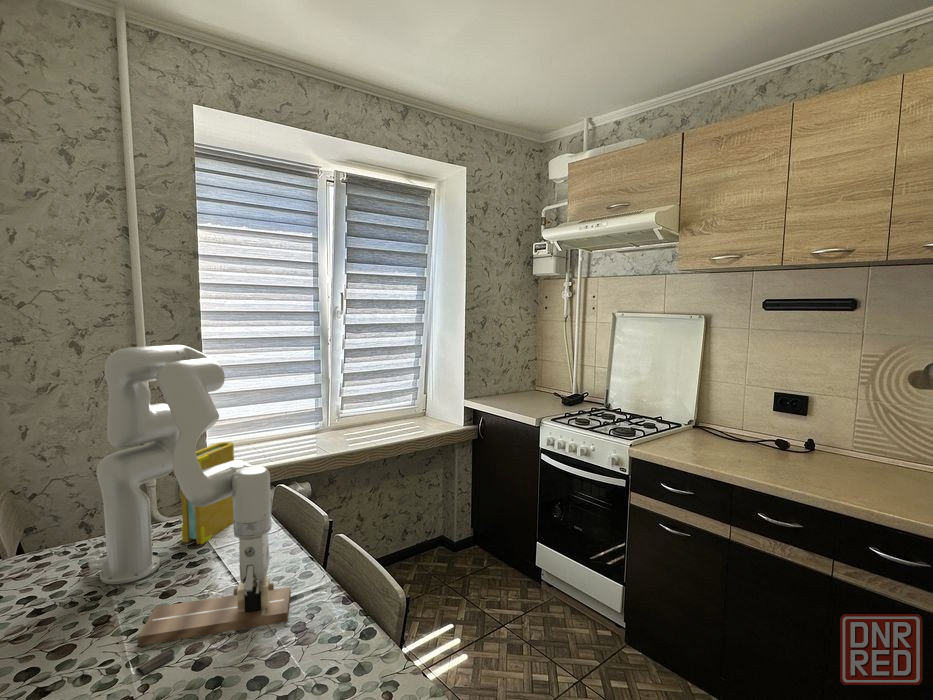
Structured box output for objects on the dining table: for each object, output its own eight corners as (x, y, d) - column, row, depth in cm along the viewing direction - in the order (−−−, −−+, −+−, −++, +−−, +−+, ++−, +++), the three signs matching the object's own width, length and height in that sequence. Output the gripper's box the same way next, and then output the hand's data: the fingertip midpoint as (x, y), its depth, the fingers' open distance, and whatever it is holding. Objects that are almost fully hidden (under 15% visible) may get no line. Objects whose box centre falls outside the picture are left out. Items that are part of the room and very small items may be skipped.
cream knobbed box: (232, 613, 103) (232, 591, 102) (236, 601, 107) (235, 579, 107) (272, 607, 105) (272, 585, 105) (274, 595, 109) (274, 574, 109)
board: (138, 646, 96) (138, 636, 95) (155, 615, 105) (155, 606, 105) (287, 621, 103) (287, 612, 103) (290, 594, 113) (290, 586, 113)
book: (202, 544, 137) (198, 459, 135) (182, 541, 139) (178, 457, 136) (241, 519, 154) (238, 442, 152) (222, 517, 155) (220, 441, 153)
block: (136, 675, 90) (134, 666, 89) (169, 654, 95) (167, 645, 95) (146, 680, 88) (144, 671, 88) (179, 658, 93) (177, 649, 93)
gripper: (266, 539, 98) (268, 624, 99) (274, 507, 114) (276, 580, 115) (225, 544, 95) (229, 631, 97) (240, 510, 112) (242, 585, 113)
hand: (255, 602), depth 106 cm, fingers closed on cream knobbed box, 4 cm apart
